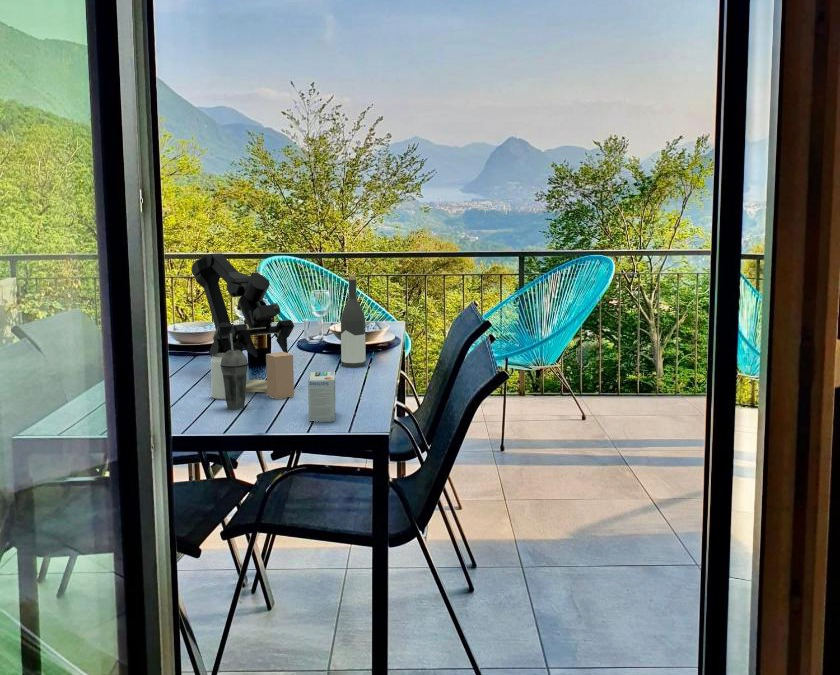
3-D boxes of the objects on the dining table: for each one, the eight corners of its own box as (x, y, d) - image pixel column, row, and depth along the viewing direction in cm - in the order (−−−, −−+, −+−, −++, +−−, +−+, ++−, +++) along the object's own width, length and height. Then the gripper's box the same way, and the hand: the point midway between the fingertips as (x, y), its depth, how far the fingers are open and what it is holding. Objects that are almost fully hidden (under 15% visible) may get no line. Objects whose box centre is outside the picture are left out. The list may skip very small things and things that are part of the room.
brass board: (234, 391, 252) (234, 387, 251) (252, 383, 262) (252, 379, 262) (269, 393, 249) (269, 389, 248) (286, 385, 259) (286, 381, 259)
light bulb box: (310, 412, 227) (309, 371, 226) (336, 411, 228) (335, 371, 226) (308, 422, 217) (307, 380, 215) (335, 421, 217) (334, 379, 216)
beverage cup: (254, 405, 235) (252, 331, 231) (240, 411, 228) (238, 335, 225) (231, 403, 237) (228, 330, 234) (216, 409, 230) (213, 334, 227)
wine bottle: (370, 364, 291) (369, 274, 286) (356, 368, 284) (354, 276, 279) (351, 362, 295) (350, 273, 290) (336, 366, 288) (334, 275, 283)
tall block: (267, 396, 245) (266, 354, 244) (284, 393, 249) (283, 351, 247) (276, 399, 241) (275, 356, 239) (294, 396, 244) (293, 354, 242)
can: (229, 400, 241) (228, 357, 239) (208, 399, 242) (206, 356, 240) (239, 395, 247) (237, 353, 245) (217, 393, 248) (216, 352, 246)
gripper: (230, 296, 243) (250, 340, 236) (290, 292, 254) (310, 334, 247) (220, 321, 250) (238, 365, 243) (278, 316, 261) (297, 357, 254)
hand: (271, 354), depth 247 cm, fingers open, 9 cm apart
